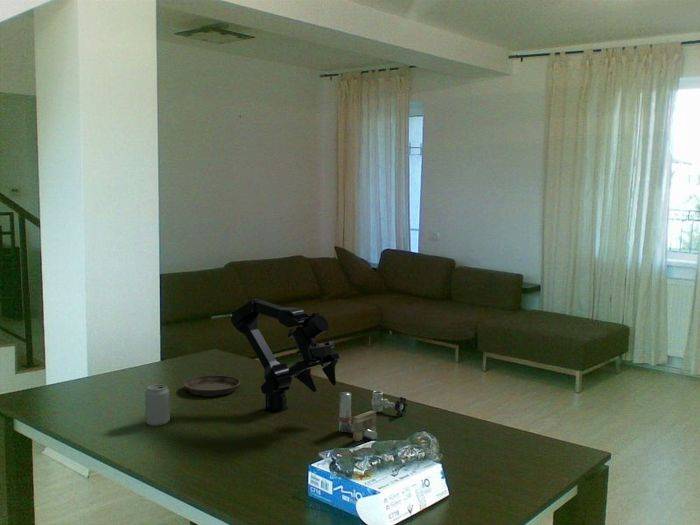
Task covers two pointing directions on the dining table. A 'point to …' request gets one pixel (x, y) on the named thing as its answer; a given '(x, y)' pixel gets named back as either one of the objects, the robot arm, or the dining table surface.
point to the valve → (387, 403)
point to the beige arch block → (358, 424)
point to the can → (157, 405)
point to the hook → (350, 417)
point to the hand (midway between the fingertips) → (325, 388)
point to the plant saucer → (211, 385)
